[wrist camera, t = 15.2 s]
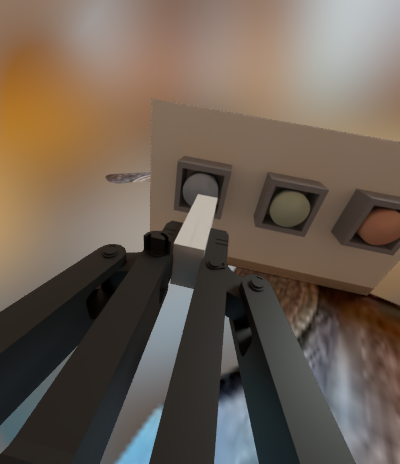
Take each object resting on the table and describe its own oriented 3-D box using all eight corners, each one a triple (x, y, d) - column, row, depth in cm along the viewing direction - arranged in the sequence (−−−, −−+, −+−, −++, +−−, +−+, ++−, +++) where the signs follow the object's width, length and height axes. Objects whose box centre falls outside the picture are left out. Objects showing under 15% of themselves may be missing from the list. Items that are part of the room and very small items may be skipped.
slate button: (184, 199, 25) (188, 167, 23) (215, 205, 25) (222, 173, 22) (181, 205, 23) (184, 171, 21) (214, 212, 23) (221, 178, 21)
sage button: (263, 215, 24) (274, 183, 22) (296, 221, 24) (310, 190, 22) (265, 222, 23) (277, 189, 20) (300, 230, 22) (316, 197, 20)
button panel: (165, 223, 38) (172, 101, 27) (342, 261, 36) (425, 146, 25) (142, 259, 29) (139, 96, 18) (379, 312, 27) (532, 165, 16)
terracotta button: (345, 231, 24) (365, 201, 22) (379, 238, 23) (403, 208, 21) (354, 240, 22) (376, 209, 20) (390, 248, 22) (417, 216, 20)
